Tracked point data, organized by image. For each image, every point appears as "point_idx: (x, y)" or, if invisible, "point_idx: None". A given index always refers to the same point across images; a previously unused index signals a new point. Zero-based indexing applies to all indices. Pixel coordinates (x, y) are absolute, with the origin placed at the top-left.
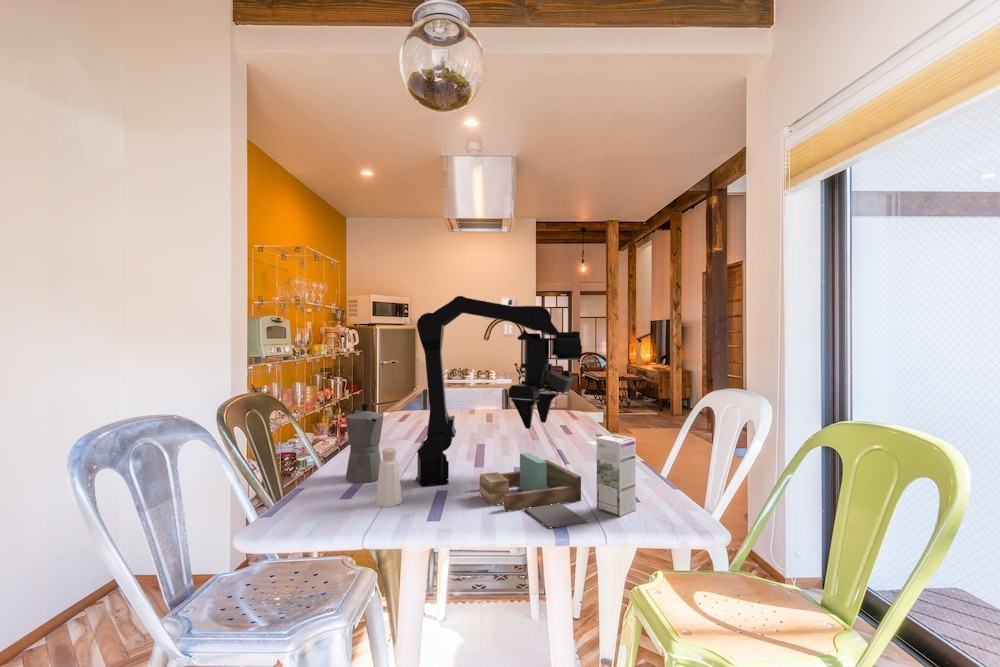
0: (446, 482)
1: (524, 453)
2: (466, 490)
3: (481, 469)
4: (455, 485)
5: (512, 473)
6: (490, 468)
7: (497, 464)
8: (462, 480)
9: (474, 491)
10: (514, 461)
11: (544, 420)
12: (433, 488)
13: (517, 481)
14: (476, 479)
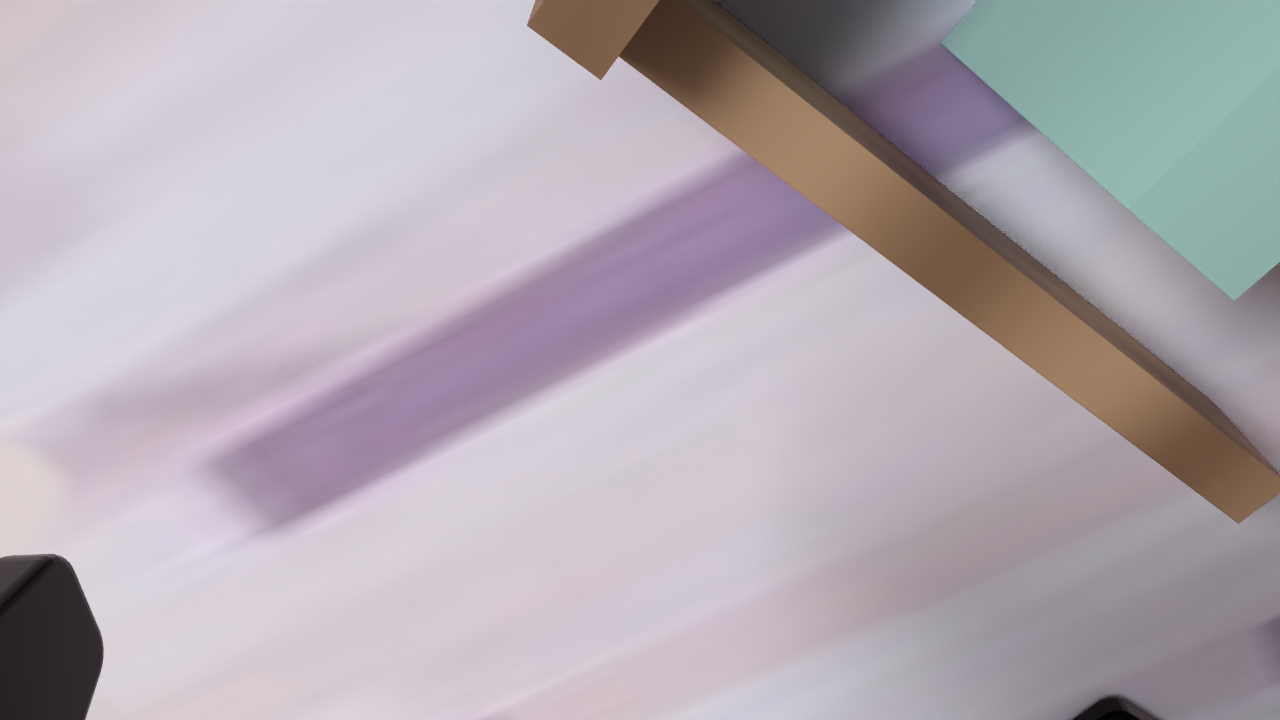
0: (1131, 710)
1: (1201, 238)
2: None
3: (557, 703)
4: (1120, 637)
5: (1020, 283)
6: (477, 665)
7: (310, 680)
8: (958, 663)
9: None
10: None
11: (37, 616)
12: (1254, 714)
13: (949, 196)
14: (877, 596)
